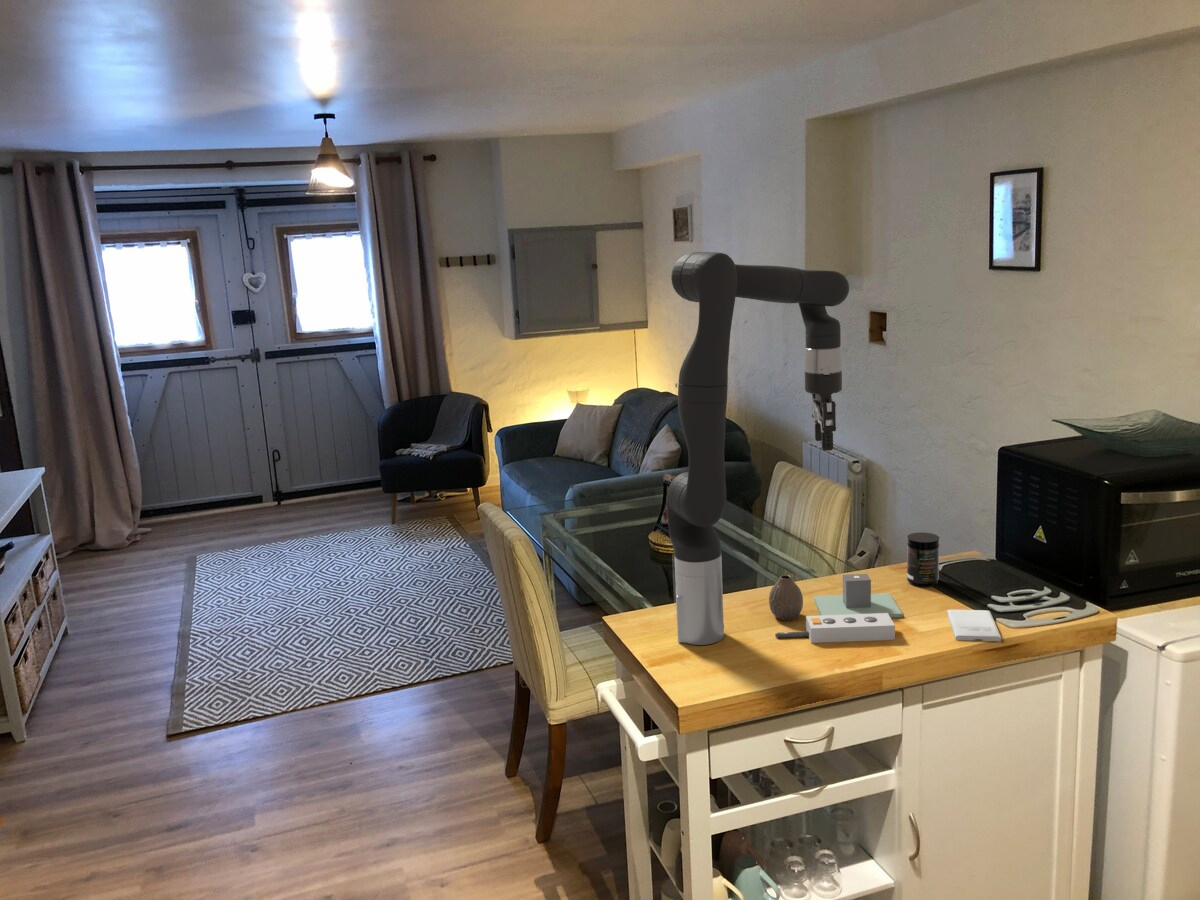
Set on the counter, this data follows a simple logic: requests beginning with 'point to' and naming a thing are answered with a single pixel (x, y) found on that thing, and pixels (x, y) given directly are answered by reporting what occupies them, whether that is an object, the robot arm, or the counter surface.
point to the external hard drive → (973, 625)
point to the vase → (785, 599)
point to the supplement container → (923, 559)
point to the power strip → (846, 628)
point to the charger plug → (856, 591)
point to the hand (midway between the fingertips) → (823, 445)
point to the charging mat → (837, 607)
